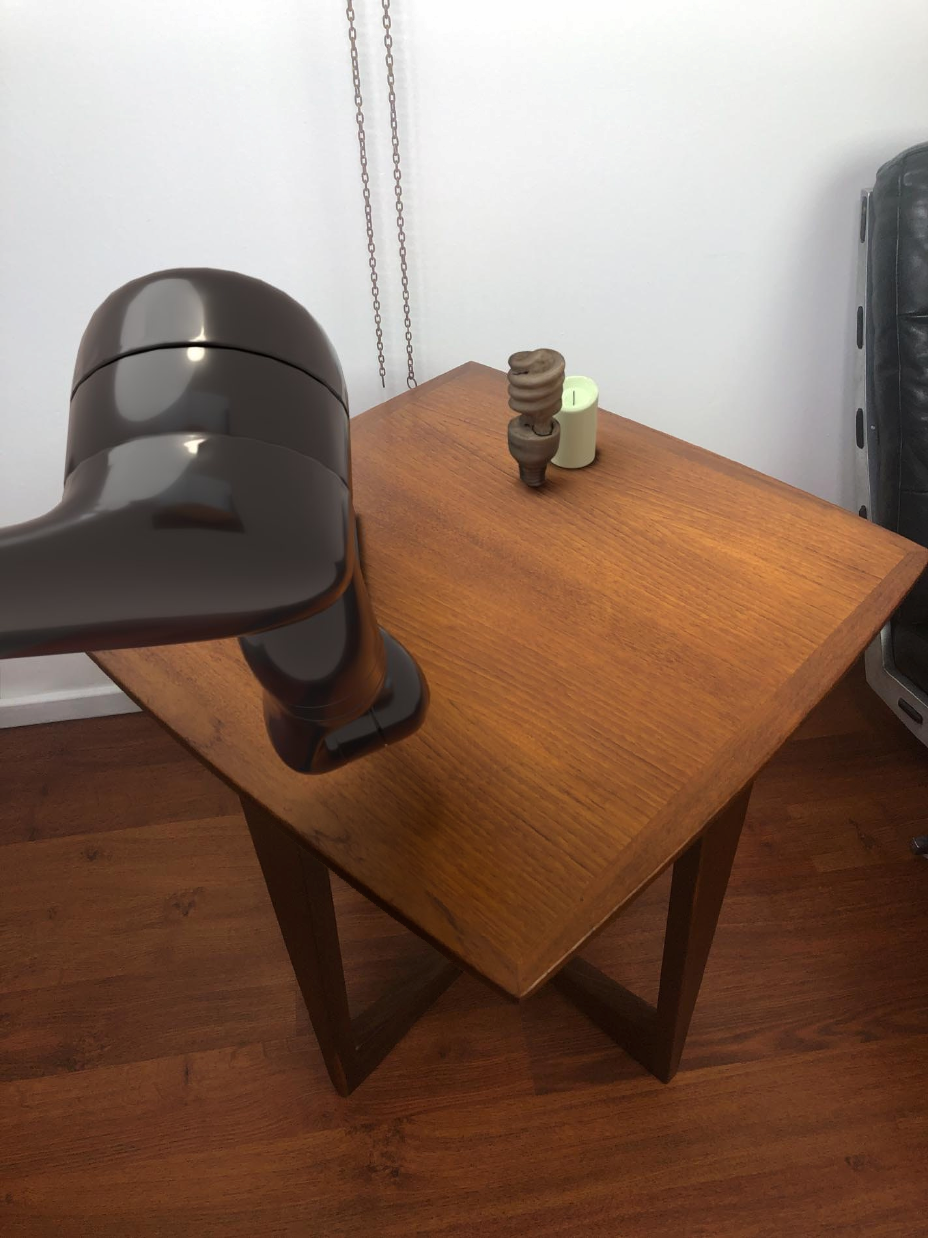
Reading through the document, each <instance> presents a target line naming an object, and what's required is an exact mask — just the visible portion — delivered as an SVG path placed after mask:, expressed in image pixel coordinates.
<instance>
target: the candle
mask: <svg viewBox="0 0 928 1238" xmlns="http://www.w3.org/2000/svg"><path fill="white" fill-rule="evenodd" d="M599 392H600V391H599V387H598V385H597V383H596V382H595V381H594V380H593V379H591V378H589V377H588V376H583V375H569V376H567V377H566V376H565V380H564V383H563V394H562V408H561V410H560V411H559V412H558V413H557V414H555V415H554V416H552V417H554V418H555V419H556V420H557V421H558V422H559V423H560V426H561V430H560V442H559V448H558V451H557V453H556V455H555V456H554V457H553V458H552V459H551V461H550V462H551V463H552V464H554V465H555V466H558V467H561V468H564V469H578V468H583V467H586V466H588V465H590V464H591V463H592V462H593V461H594V460H595V457H596V445H597V444H596V443H597V442H596V441H597V427H598V412H599V411H598V409H599V396H600V395H599V394H600V393H599Z"/></svg>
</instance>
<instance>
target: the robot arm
mask: <svg viewBox="0 0 928 1238" xmlns="http://www.w3.org/2000/svg"><path fill="white" fill-rule="evenodd" d="M70 387H71V388H70V396H69V410H68V411H69V413H68V423H67V434H66V435H67V436H66V437H67V438H66V449H65V462H64V472H63V473H64V474H63V492H62V495H61V501H60V502H59V503H58V504H57V505H56V506H55V507H53V508H52V509H51V510H50V511H48V512H46V513H45V514H42V515H41V516H38V517H36V518H32V519H29V520H26V521H23V522H20V523H15V524H11V525H5V526H1V527H0V661H4V660H13V659H14V660H15V659H26V658H37V657H38V658H39V657H49V656H60V655H61V656H62V655H70V654H71V655H73V654H83V653H95V652H107V651H119V650H130V649H140V648H141V649H143V648H153V647H163V646H174V645H183V644H193V643H203V642H212V641H222V640H228V639H235V638H236V639H237V642H238V645H239V649H240V652H241V654H242V656H243V658H244V661H245V663H246V665H247V666H248V668H249V669H250V671H251V673H252V675H253V677H254V678H255V679H256V681H257V682H258V683H259V685H260V686H261V687H262V714H263V715H262V716H263V721H264V725H265V730H266V733H267V735H268V738H269V741H270V743H271V744H270V745H271V746H272V748H273V751H274V752H275V753H276V755H277V756H278V757H279V759H280V760H281V761H282V762H283V764H284V765H286V766H287V767H289V769H290V770H291V771H294V772H296V773H298V774H301V775H305V776H322V775H326V774H328V773H331V772H334V771H336V770H339V769H341V768H343V767H346V766H348V765H349V764H352V763H354V762H357V761H359V760H362V759H363V758H365V757H367V756H371V755H373V754H374V753H376V752H379V751H381V750H383V749H385V748H386V746H387V747H390V746H393V745H396V744H397V743H399V742H402V741H404V740H406V739H408V738H410V737H412V736H413V735H415V734H416V733H417V732H418V731H419V730H421V728H422V727H423V726H424V724H425V722H426V721H427V718H428V717H429V712H430V707H431V691H430V690H431V689H430V687H429V684H428V680H427V677H426V675H425V673H424V671H423V669H422V667H421V666H420V664H419V662H418V661H417V659H416V658H415V657H414V655H413V654H412V653H411V652H410V651H409V650H408V649H407V648H406V646H405V645H403V644H402V642H401V641H399V639H398V638H396V636H394V635H393V634H392V633H390V631H388V630H387V629H386V628H385V627H383V626H382V625H381V624H380V623H379V622H378V619H377V617H376V615H375V614H376V613H375V611H374V608H373V605H372V602H371V598H370V597H369V593H368V590H367V587H366V583H365V579H364V577H363V573H362V570H360V569H361V566H360V567H359V563H358V560H357V556H356V553H355V540H354V511H355V506H354V487H353V466H352V464H353V463H352V443H351V442H352V441H351V440H352V439H351V417H350V404H349V393H348V388H347V383H346V378H345V374H344V371H343V366H342V363H341V360H340V357H339V355H338V352H337V349H336V347H335V346H334V344H333V342H332V340H331V339H330V337H329V336H328V334H327V332H326V330H325V329H324V327H323V325H322V324H321V323H320V322H319V321H318V320H317V318H315V316H314V315H313V314H312V313H311V312H310V311H309V309H307V308H306V307H305V306H304V305H303V303H301V302H299V301H298V300H297V299H295V298H294V297H293V296H291V295H290V294H288V292H286V291H285V290H283V289H280V288H279V287H277V286H276V285H273V284H270V283H269V282H267V281H266V280H263V279H261V278H258V277H255V276H252V275H249V274H245V273H241V272H239V271H235V270H230V269H222V268H215V267H208V266H198V267H197V266H193V267H192V266H187V267H186V266H185V267H184V266H182V267H172V268H166V269H162V270H157V271H153V272H149V273H147V274H144V275H142V276H138V277H136V278H133V279H132V280H129V281H127V282H126V283H124V284H123V285H121V286H120V287H118V288H117V289H115V290H114V291H112V292H110V293H109V295H108V296H107V297H106V298H105V299H104V300H103V301H102V302H101V303H100V304H99V305H98V306H97V308H96V309H95V311H94V312H93V313H92V315H91V317H90V319H89V320H88V323H87V325H86V327H85V328H84V331H83V333H82V336H81V339H80V341H79V346H78V349H77V354H76V358H75V365H74V369H73V375H72V379H71V386H70Z"/></svg>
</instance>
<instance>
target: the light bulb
mask: <svg viewBox="0 0 928 1238" xmlns="http://www.w3.org/2000/svg"><path fill="white" fill-rule="evenodd" d="M507 364H508V366H509V367H510V369H508V372H507V376H506V377H507V381H508V382H509V384H508V386H507V394H508V396H510V397H509V399H508V401H507V402H508V404H507V405H508V407H509V408H510V409H511V410H512V411H513V412H516V413H518V415H516V416H515V417H513V418H512V419H510V421H509V422H508V424H507V434H506V435H507V436H506V437H507V446H508V451H509V454H510V455H511V457H512V458H513V459H514V460H515V462H516V463H517V464H518V472H519V480H521V481H522V482H523V483H524V484H525V485H528V486H531V488H534V487H535V488H536V487H540V486H541V485H543V484H545V482H546V478H547V475H546V474H547V473H546V472H547V469H548V464H549V463H550V462H551V459H552V458H553V457H554V456H555V455H556V453H557V451H558V448H559V442H560V430H561V426H560V423H559V422H558V421H557V420H556V419H555V418H554V417H552V416H554V415H555V414H557V413H558V412H559V411H560V410H561V408H562V394H563V383H564V380H565V378H566V373H565V369H566V359H565V356H564V355H563V354H562V353H561V352H559V351H557V350H555V349H553V348H545V347H543V348H542V347H541V348H536V349H534V350H522V351H517V352H515V353H512V354H511V355H510V356H509V357H508V360H507Z"/></svg>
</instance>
